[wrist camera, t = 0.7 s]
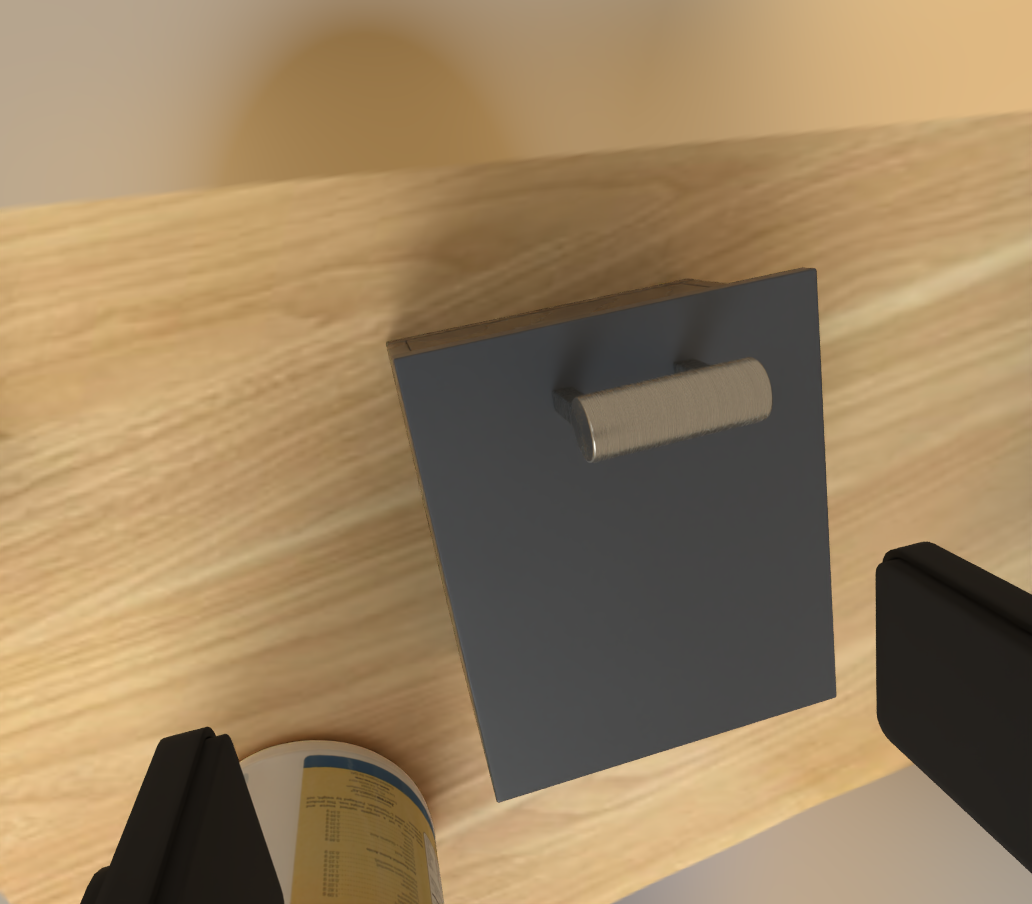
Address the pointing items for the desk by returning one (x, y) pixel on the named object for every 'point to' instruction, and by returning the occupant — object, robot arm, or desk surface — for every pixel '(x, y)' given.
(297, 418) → the desk surface
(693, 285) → the chest
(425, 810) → the supplement tub
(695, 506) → the lid
